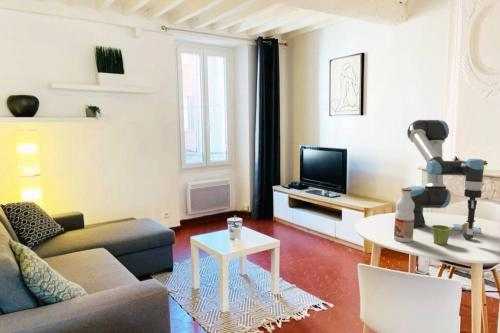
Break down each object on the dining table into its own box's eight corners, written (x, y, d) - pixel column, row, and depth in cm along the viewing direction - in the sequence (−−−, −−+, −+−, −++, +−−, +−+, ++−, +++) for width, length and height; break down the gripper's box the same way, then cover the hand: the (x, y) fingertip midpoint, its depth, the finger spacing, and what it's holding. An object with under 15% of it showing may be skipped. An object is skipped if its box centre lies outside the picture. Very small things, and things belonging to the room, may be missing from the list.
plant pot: (441, 247, 188) (442, 230, 187) (426, 241, 196) (427, 225, 195) (454, 245, 191) (455, 228, 190) (438, 239, 200) (440, 224, 199)
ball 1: (465, 233, 211) (466, 224, 210) (459, 231, 216) (460, 221, 215) (474, 233, 211) (475, 224, 210) (468, 230, 216) (469, 221, 216)
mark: (481, 233, 212) (481, 233, 212) (453, 229, 219) (453, 229, 219) (479, 227, 224) (479, 227, 224) (453, 223, 231) (453, 223, 231)
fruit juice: (412, 243, 193) (416, 190, 189) (393, 241, 196) (396, 189, 193) (412, 238, 201) (416, 187, 198) (394, 236, 205) (397, 186, 201)
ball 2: (466, 240, 198) (466, 230, 198) (459, 237, 204) (460, 227, 203) (475, 240, 199) (476, 230, 198) (469, 237, 204) (470, 227, 204)
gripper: (482, 191, 182) (478, 238, 184) (481, 188, 193) (477, 232, 196) (464, 190, 185) (461, 236, 188) (464, 186, 197) (461, 230, 199)
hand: (469, 234), depth 192 cm, fingers closed
